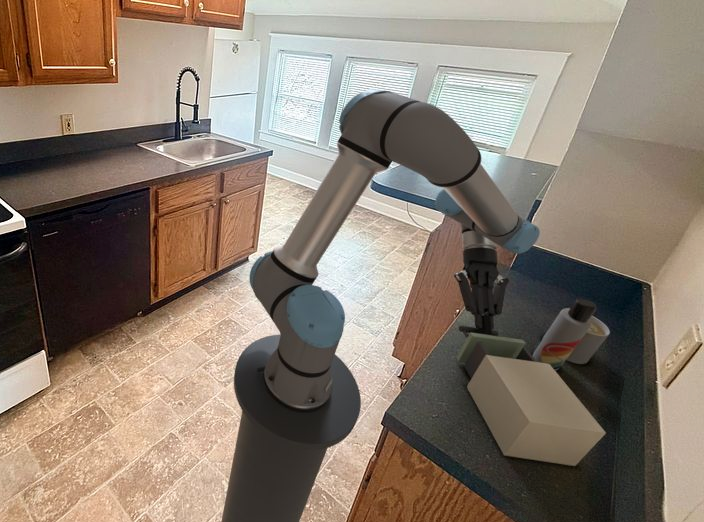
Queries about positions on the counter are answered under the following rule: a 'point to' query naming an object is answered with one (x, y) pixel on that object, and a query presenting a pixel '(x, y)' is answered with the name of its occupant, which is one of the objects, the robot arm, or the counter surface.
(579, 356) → the coffee mug
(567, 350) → the lotion bottle
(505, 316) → the counter surface
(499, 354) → the drawer
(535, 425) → the cream rectangular box
